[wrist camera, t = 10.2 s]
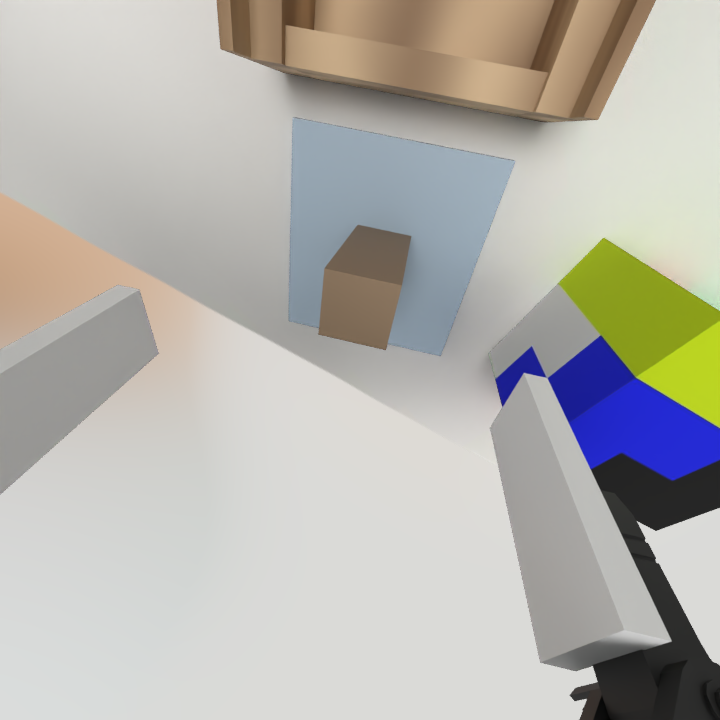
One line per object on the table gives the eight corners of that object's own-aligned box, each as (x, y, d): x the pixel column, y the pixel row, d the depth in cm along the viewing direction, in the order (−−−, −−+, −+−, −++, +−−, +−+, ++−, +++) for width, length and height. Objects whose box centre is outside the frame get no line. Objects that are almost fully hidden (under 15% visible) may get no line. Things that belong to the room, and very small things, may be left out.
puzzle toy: (488, 352, 25) (515, 458, 17) (603, 237, 19) (727, 315, 11) (587, 409, 26) (655, 530, 18) (723, 317, 21) (909, 438, 13)
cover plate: (292, 315, 27) (241, 384, 19) (298, 117, 19) (215, 112, 11) (440, 349, 26) (443, 433, 19) (511, 159, 18) (564, 180, 11)
